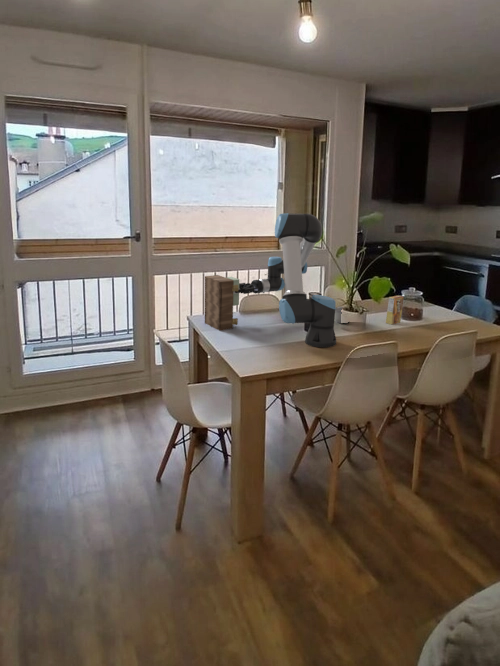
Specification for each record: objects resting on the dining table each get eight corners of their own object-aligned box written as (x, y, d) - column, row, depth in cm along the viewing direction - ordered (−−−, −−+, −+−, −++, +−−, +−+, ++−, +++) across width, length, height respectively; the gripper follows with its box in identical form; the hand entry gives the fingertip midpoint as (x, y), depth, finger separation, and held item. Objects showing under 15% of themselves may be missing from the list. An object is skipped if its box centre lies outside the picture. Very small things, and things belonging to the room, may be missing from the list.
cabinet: (237, 329, 259) (239, 280, 251) (221, 331, 253) (222, 282, 246) (220, 320, 273) (221, 274, 265) (204, 323, 268) (204, 276, 260)
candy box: (394, 320, 284) (397, 295, 280) (400, 322, 281) (404, 296, 276) (385, 323, 279) (388, 297, 274) (391, 325, 276) (394, 298, 271)
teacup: (353, 325, 272) (355, 311, 270) (334, 324, 272) (335, 310, 270) (349, 318, 286) (350, 305, 283) (331, 318, 286) (332, 304, 283)
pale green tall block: (240, 304, 263) (241, 279, 259) (233, 305, 261) (233, 279, 257) (232, 301, 270) (233, 276, 265) (225, 302, 267) (226, 277, 263)
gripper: (270, 296, 265) (235, 301, 253) (249, 289, 282) (214, 293, 269) (271, 283, 263) (235, 286, 251) (249, 276, 279) (215, 279, 267)
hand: (224, 290), depth 260 cm, fingers closed on pale green tall block, 8 cm apart
